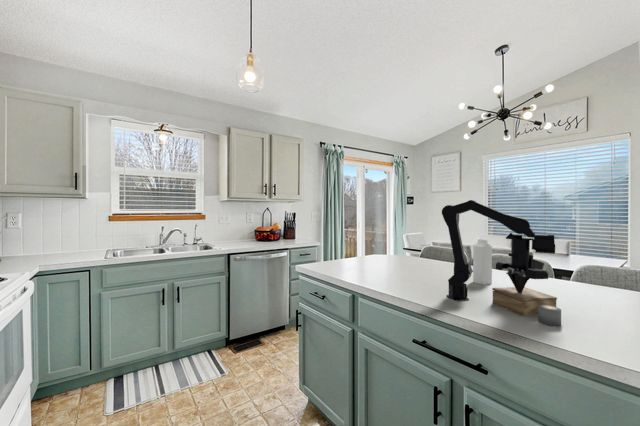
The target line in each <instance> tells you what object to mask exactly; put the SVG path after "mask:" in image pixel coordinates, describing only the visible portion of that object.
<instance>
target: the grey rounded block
mask: <svg viewBox="0 0 640 426" xmlns="http://www.w3.org/2000/svg"><path fill="white" fill-rule="evenodd" d="M537 322H538V323H539V324H542V325H545V326H548V327H554V326H555V327H556V328H557V327H561V326H562V309H561V308H559V307H557V306H556V307H554V306H548V305H539V306H538V315H537Z"/></svg>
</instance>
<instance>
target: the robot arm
mask: <svg viewBox="0 0 640 426" xmlns="http://www.w3.org/2000/svg"><path fill="white" fill-rule="evenodd" d="M469 211H472V212H475V213H478V214H480V215H482V216H484V217H487V218H488V219H491V220H494V221H495V222H498V223H500V224H502V225H503V226H505V227H506V228H508V229H509V230H510V231H512V232H514V233H516V234H514V233H512V232H509V234H508V235H507V236H505V239H506V240H511V242H510V243H511V247H510V248H511V249H510V253H508V254H507V256H509V257H511V258H510V262H509V261H497V262H496V263H495V269H496V270H499V271H503V270H505V269H506V270H507V272H506V271H505V272H506V273H505V274H506V275H507V276H508V277H509V279H510V281H511V283H512V284H513V287H515V288H516V290H517V292H518V293H522V291H523V289H524V287H525V286H526V284H527V282H528V281H529V280H530V279H531V280H548V279H549V272H547V270H544V266H545V263H544V262H542V261H540V260H537V259H534V256H533V255H532V254H530V247H531V250H534V251H535V253H536V254H537V253H538V254H550V255H551V254H552V255H555V254H556V243H555V234H536V233H535V231H533V230H532V228H531V224H530V221H529V220H527V219H526V218H523V217H518V216H515V215H510V214H508V213H507V214H506V213H503V212H501V211H498V210H496V209H493V208H491V207H489V206H487V205H484V204H482V203H479V202H477V201H476V200H473V199H470V200H467V201H465V202H462V203H457V204H455V205H453V204H449V205H448V204H447V205H445V206H443V207H442V209H441V215H442V218H443V220H444V222H445V224H446V227H447V228H448V234H449V239H450V244H451V248H452V253H453V258H454V259H453V261H454V262H453V275H452V276H451V277H450V278H448V280H447V281H448V294H446V297H448V298H449V299H451V300H453V301H456V302H457V301H469V300H470V299H469V298H468V287H467V285H468V284H467V283H466V282H467V281H468V280H469V279H470V278H471V277H472V275H473V267H472V262H471V261H469V262H468V261H467V259H466V257H465V252H464V251H465V250H464V247H463V245H464V244H463V242H462V241H463V239H462V235H461V232H460V224H459V223H460V214H462V213H463V214H464V213H466V212H469ZM523 235H524V236H526V237H523ZM530 244H531V246H530Z"/></svg>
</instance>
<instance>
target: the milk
mask: <svg viewBox="0 0 640 426" xmlns="http://www.w3.org/2000/svg"><path fill="white" fill-rule="evenodd" d="M472 247H473V249H472V252H473V253H472V259H473V260H472V270H473V272H472V282H473V283H476V284H479V285H483V286H484V285H492V284H493V278H492V275H493V270H492V269H493V262H492V261H493V246H492V245H491V244H489V243H488V240H487V239H481V238H480V239H478V238H477V242H476V243H475V244H473V245H472Z"/></svg>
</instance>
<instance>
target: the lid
mask: <svg viewBox="0 0 640 426" xmlns="http://www.w3.org/2000/svg"><path fill="white" fill-rule="evenodd" d="M492 291H497V292H499V293H502V294H505V295H507V296H510V297H513V298H515V299H518V300H520V301H537V300H556V301H557V300H558V297H557V296H553V295H550V294H547V293H544V292H542V291H541V292H540V291H538V290H534V289H532V288H530V287H529V288H528V287H524V289H523V291H522V293H518V292H517V290H516V288H515V286H513V287H511V286H510V287H492Z"/></svg>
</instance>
